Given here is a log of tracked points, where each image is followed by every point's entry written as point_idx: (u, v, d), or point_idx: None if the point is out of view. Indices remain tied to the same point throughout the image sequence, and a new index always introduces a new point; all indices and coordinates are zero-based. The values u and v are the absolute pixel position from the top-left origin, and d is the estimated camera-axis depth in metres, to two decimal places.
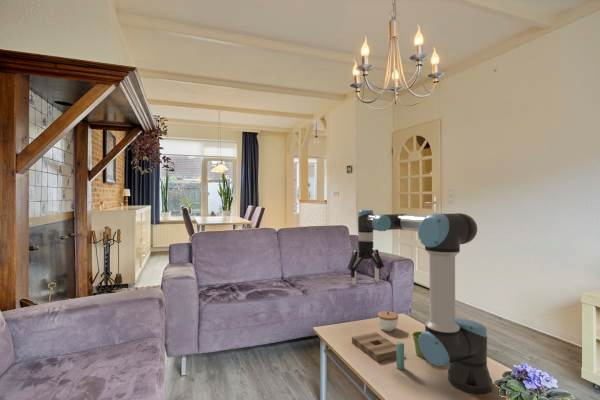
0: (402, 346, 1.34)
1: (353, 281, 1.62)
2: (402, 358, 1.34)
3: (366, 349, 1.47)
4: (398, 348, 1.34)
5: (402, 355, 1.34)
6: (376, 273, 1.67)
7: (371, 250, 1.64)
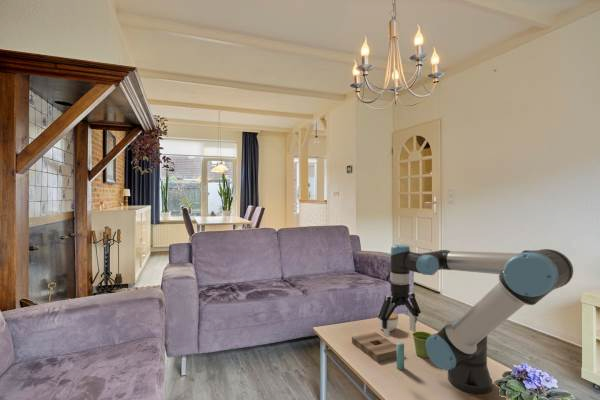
0: (402, 346, 1.34)
1: (385, 333, 1.33)
2: (402, 358, 1.34)
3: (366, 349, 1.47)
4: (398, 348, 1.34)
5: (402, 355, 1.34)
6: (412, 321, 1.38)
7: (406, 294, 1.35)
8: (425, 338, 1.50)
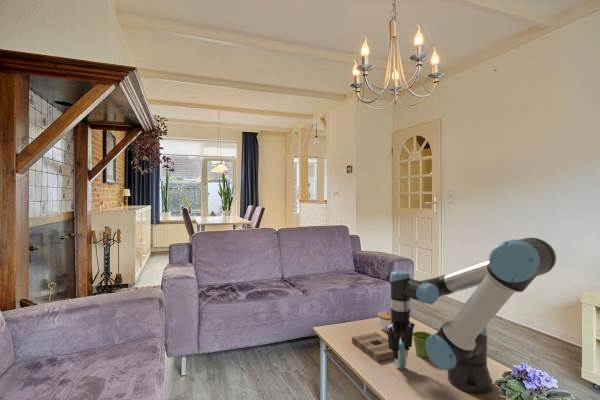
0: (403, 346, 1.34)
1: (396, 363, 1.35)
2: (403, 358, 1.34)
3: (366, 349, 1.47)
4: (399, 348, 1.34)
5: (403, 355, 1.34)
6: None
7: (408, 320, 1.36)
8: (425, 338, 1.50)
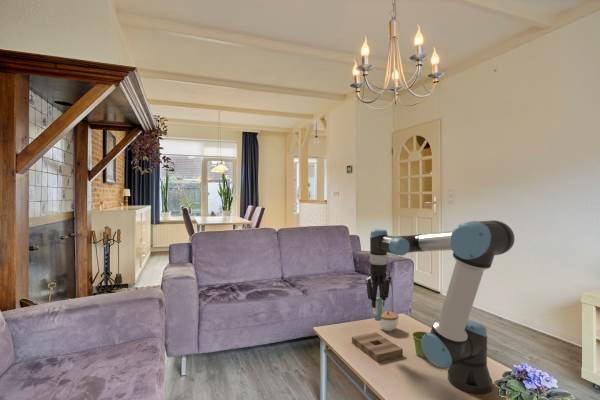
0: (380, 300, 1.49)
1: (374, 311, 1.50)
2: (379, 310, 1.49)
3: (366, 349, 1.47)
4: None
5: (379, 308, 1.49)
6: None
7: (385, 273, 1.50)
8: None
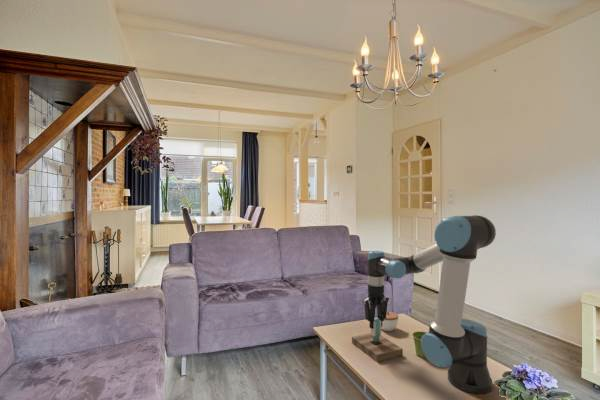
0: (377, 320, 1.51)
1: (372, 332, 1.52)
2: (377, 331, 1.51)
3: (366, 349, 1.47)
4: None
5: (377, 328, 1.51)
6: None
7: (382, 294, 1.52)
8: None
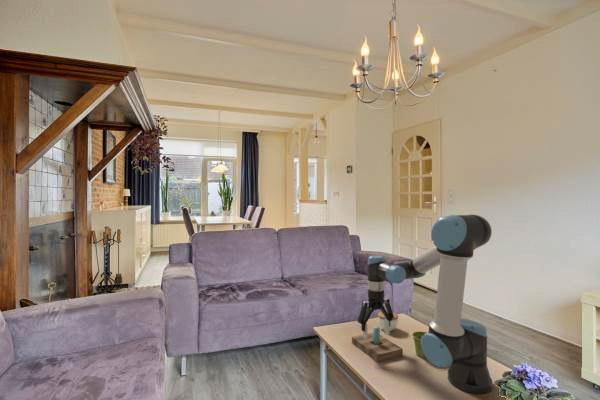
0: (378, 329, 1.51)
1: (364, 335, 1.50)
2: (378, 340, 1.51)
3: (366, 349, 1.47)
4: (374, 331, 1.51)
5: (378, 337, 1.51)
6: (386, 325, 1.54)
7: (382, 300, 1.52)
8: None
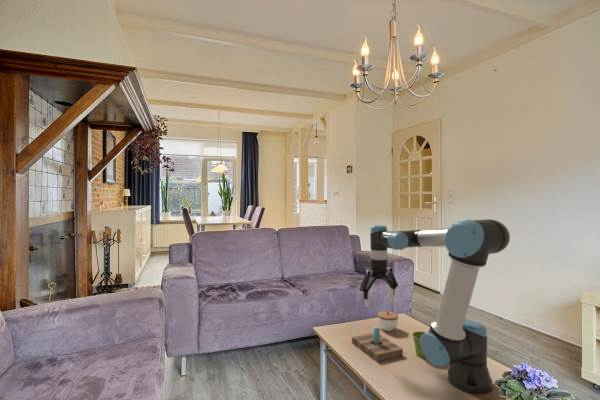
0: (378, 329, 1.51)
1: (366, 303, 1.49)
2: (378, 340, 1.51)
3: (366, 349, 1.47)
4: (374, 331, 1.51)
5: (378, 337, 1.51)
6: (390, 294, 1.55)
7: (385, 269, 1.52)
8: None
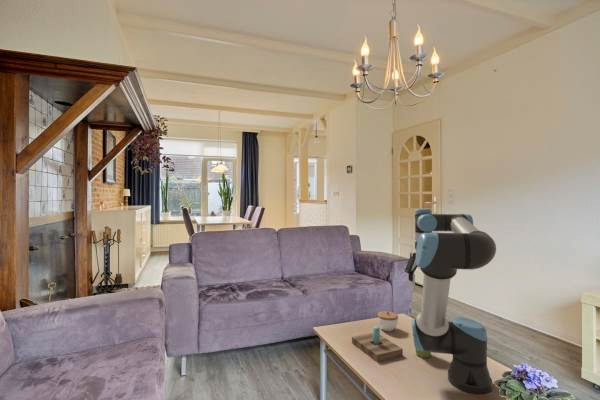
0: (378, 329, 1.51)
1: (411, 285, 1.52)
2: (378, 340, 1.51)
3: (366, 349, 1.47)
4: (374, 331, 1.51)
5: (378, 337, 1.51)
6: None
7: None
8: None
